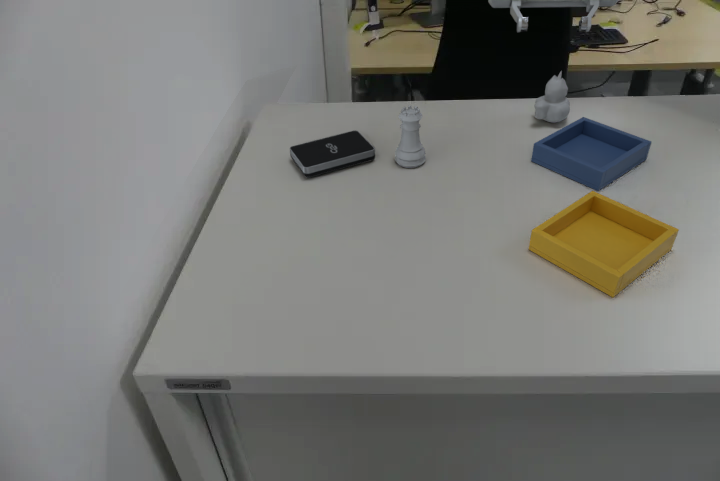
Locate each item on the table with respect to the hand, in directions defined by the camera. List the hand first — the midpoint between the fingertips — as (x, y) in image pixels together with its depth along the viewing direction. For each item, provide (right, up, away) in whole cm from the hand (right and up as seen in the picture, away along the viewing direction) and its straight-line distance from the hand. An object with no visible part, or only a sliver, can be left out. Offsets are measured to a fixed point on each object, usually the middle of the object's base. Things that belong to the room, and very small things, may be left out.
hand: (553, 30), depth 87 cm
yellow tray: (-3, -34, -24) cm, 42 cm away
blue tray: (+2, -22, -9) cm, 24 cm away
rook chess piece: (-23, -22, -7) cm, 32 cm away
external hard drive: (-34, -21, -6) cm, 41 cm away
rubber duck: (-1, -14, +1) cm, 14 cm away
